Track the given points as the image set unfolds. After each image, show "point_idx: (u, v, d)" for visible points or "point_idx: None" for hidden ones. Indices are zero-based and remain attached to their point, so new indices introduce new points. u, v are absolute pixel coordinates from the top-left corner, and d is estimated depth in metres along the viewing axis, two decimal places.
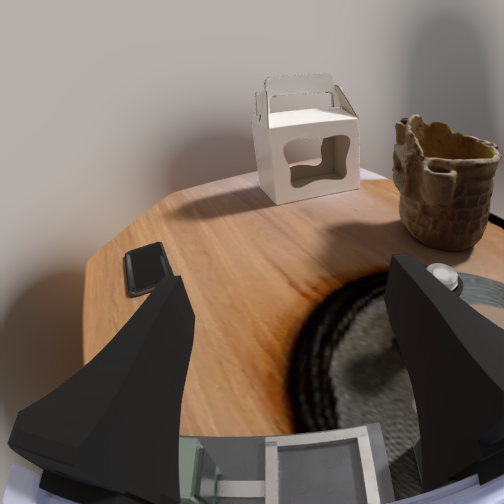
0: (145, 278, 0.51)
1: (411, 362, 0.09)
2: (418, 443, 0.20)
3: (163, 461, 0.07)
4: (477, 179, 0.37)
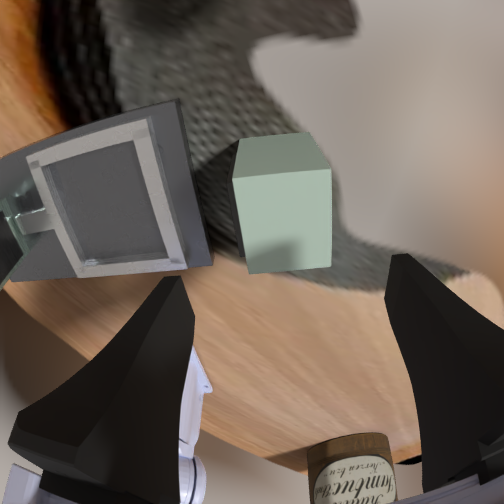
0: None
1: (411, 362, 0.09)
2: None
3: (163, 461, 0.07)
4: None
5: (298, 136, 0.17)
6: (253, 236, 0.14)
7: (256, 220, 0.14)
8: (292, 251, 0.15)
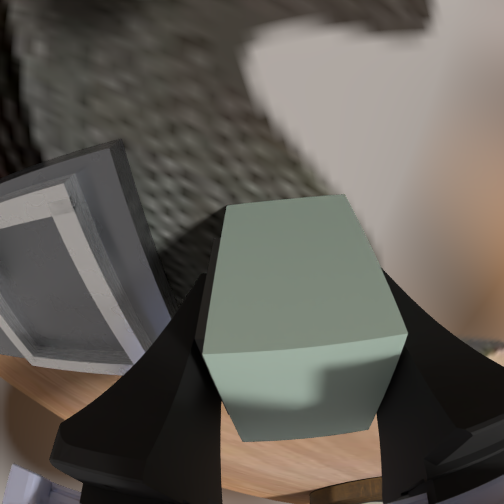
0: None
1: None
2: None
3: (210, 465, 0.07)
4: None
5: (328, 206, 0.10)
6: (248, 415, 0.07)
7: (254, 401, 0.07)
8: (312, 424, 0.08)
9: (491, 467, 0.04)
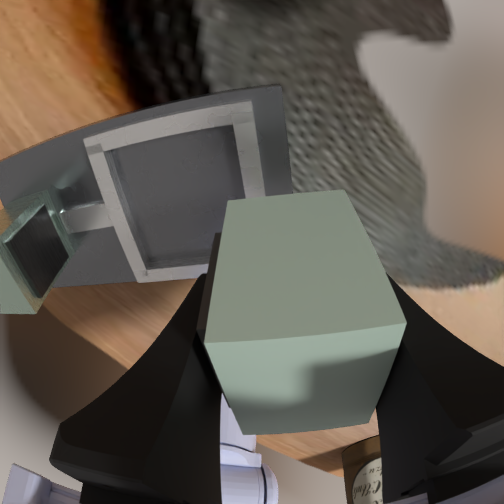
0: None
1: None
2: None
3: (209, 465, 0.07)
4: None
5: (327, 201, 0.10)
6: (249, 407, 0.08)
7: (254, 392, 0.07)
8: (312, 417, 0.08)
9: (491, 467, 0.04)
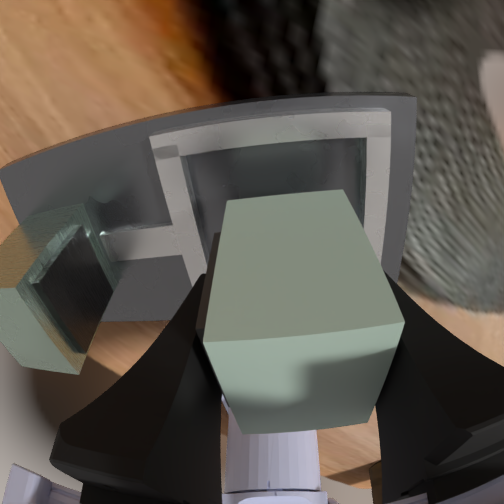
0: None
1: None
2: None
3: (210, 465, 0.07)
4: None
5: (326, 201, 0.10)
6: (248, 406, 0.08)
7: (253, 391, 0.07)
8: (312, 416, 0.08)
9: (491, 467, 0.04)
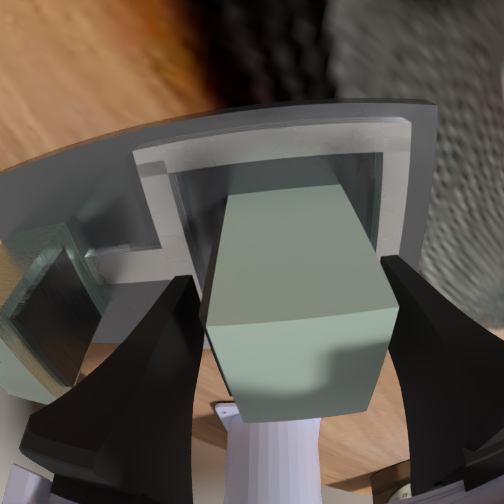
0: None
1: (399, 364, 0.09)
2: None
3: (177, 462, 0.07)
4: None
5: (324, 195, 0.10)
6: (249, 392, 0.08)
7: (254, 377, 0.07)
8: (311, 404, 0.08)
9: None
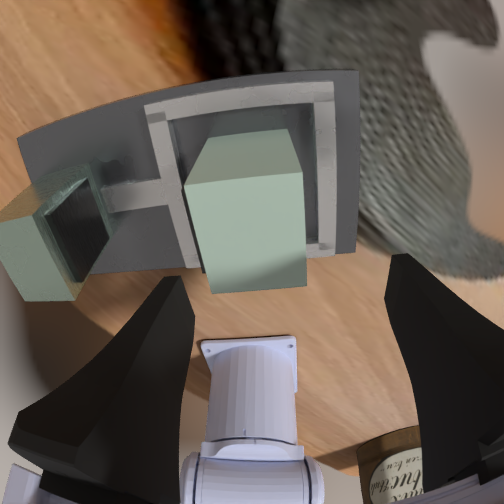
0: None
1: (411, 362, 0.09)
2: None
3: (163, 461, 0.07)
4: None
5: (273, 134, 0.14)
6: (213, 252, 0.12)
7: (215, 233, 0.12)
8: (260, 269, 0.13)
9: None
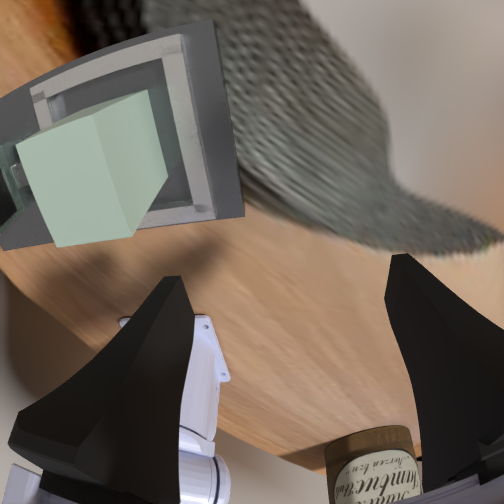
0: None
1: (411, 362, 0.09)
2: None
3: (163, 461, 0.07)
4: None
5: (128, 95, 0.13)
6: (46, 204, 0.11)
7: (43, 185, 0.10)
8: (84, 218, 0.11)
9: None
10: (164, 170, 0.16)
